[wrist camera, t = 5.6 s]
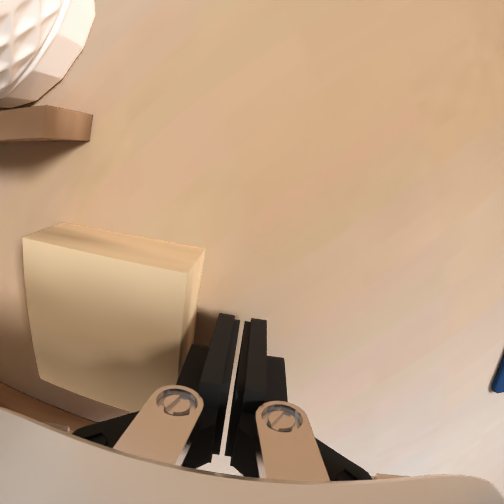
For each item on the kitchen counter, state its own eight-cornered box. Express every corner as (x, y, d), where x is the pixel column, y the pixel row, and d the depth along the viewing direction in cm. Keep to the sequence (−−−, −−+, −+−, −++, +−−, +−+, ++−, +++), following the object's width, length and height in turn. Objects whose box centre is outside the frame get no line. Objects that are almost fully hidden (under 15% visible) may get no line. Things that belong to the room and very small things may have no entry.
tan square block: (190, 377, 13) (174, 424, 10) (72, 344, 13) (39, 378, 10) (206, 246, 12) (187, 273, 9) (67, 220, 12) (22, 237, 9)
